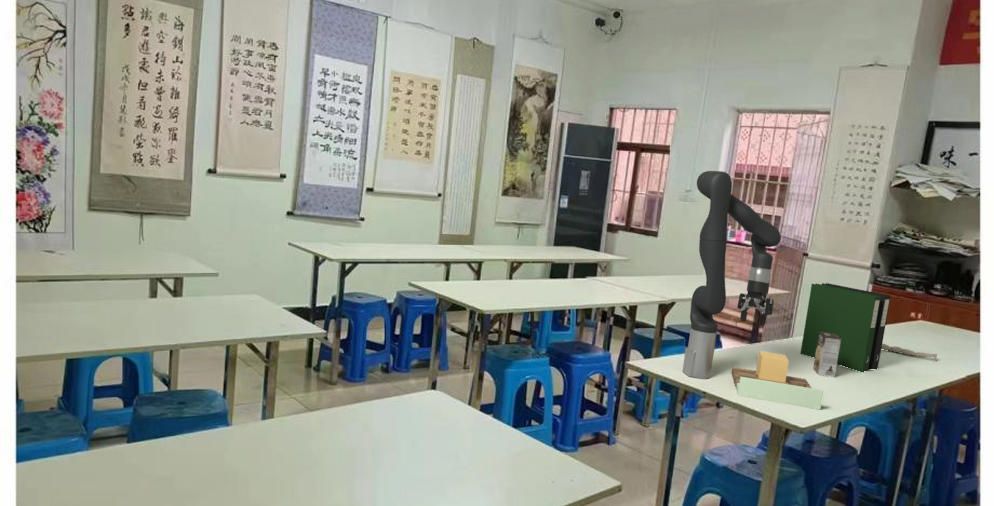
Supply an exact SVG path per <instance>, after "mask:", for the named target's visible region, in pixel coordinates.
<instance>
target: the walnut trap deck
mask: <svg viewBox="0 0 994 506" xmlns="http://www.w3.org/2000/svg"><path fill="white" fill-rule="evenodd" d="M730 374H731V378H732V381H733V380H734V381H733V383H734V387H737V383H739V382H740V377H746V378H753V379H759V380H765V381H771V382H777V383H783V384H789V385H795V386H801V387H807V388H812V386H811V384H810V383H809V381H807V379H806V378H801V377H796V376H789V375H787V376H786V382H779V381H773V380H767V379H761V378H759V377H758V375H757V372H756V370H752V369H746V368H742V367H734V366H732V367H731V372H730Z"/></svg>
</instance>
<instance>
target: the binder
mask: <svg viewBox="0 0 994 506" xmlns="http://www.w3.org/2000/svg"><path fill="white" fill-rule="evenodd" d="M810 286H811V287H810V292H809V299H808V305H807V312H806V315H805V316H806V318H805V324H804V329H803V336H802V342H801V347H800V348H801V349H800V355H802V354H804V355H803V356H805V355H807V356H806V357H809V356H811V357H810V358H812V357H814V358H813V359H815V353H816V347H817V341H818V335H819V332H828V333H835V334H836V335H838V336H839V337H840V338H841V343H840V349H839V355H838V360H837V364H838V365H842V366H845V367H848V368H851V369H850V370H852V369H854V370H853V371H855V370H857V371H856V372H858V371H860V372H859V373H861V372H863V373H865V372H864V371H867V372H869V369H876V370H878V369H879V364H880V358H881V353H882V350H881V348H882V344H883V341H884V336H885V330H886V325H887V321H888V320H887V319H888V313H889V309H890V301H891V297H892V296H891V294H884V293H879V292H875V291H874V292H873V291H870V290H869V291H868V290H864V289H858V288H854V287H848V286H844V285H838V284H833V283H828V282H827V283H824V282H822V283H821V284H820V283H811V285H810ZM838 365H837V366H838ZM842 366H841V367H842ZM845 367H844V368H845ZM848 368H847V369H848ZM877 368H878V369H877Z"/></svg>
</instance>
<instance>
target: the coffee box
mask: <svg viewBox="0 0 994 506" xmlns="http://www.w3.org/2000/svg"><path fill="white" fill-rule="evenodd" d="M840 343H841V338H840V337H839V336H838V335H836V334H835V333H828V332H819V335H818V341H817V347H816V353H815V358H813V359H814V361H813V366H812V367H813V368H812V369H813V370H814V372H815V371H816V372H815V373H816V374H817V375H818V376H821V375H825V376H824V377H828V376H831V378H835V377H836V370H837V366H838V365H837V360H838V355H839V349H840Z"/></svg>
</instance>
